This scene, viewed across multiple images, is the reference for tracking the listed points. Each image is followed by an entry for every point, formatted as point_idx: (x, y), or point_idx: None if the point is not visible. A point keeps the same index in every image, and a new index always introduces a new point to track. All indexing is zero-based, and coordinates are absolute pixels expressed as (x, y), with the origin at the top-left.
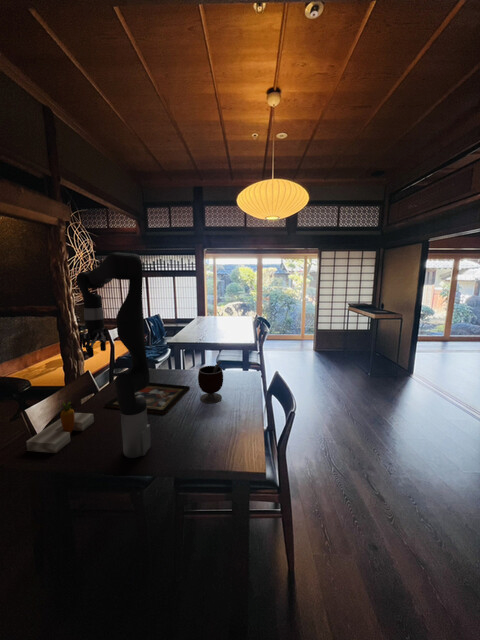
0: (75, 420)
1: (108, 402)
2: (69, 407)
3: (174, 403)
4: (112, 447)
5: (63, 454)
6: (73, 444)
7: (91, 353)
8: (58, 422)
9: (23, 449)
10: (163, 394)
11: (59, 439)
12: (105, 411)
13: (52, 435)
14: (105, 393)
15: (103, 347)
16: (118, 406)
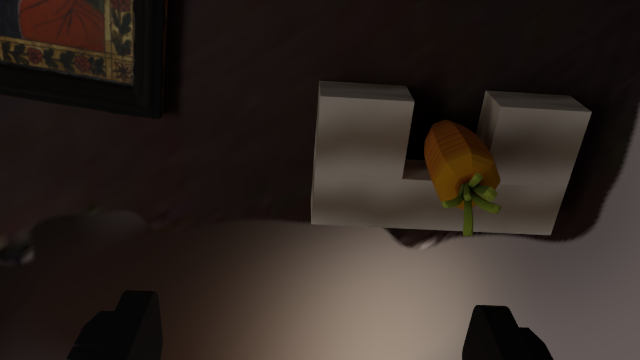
0: (392, 146)
1: (133, 106)
2: (480, 180)
3: None
4: None
5: (585, 56)
6: (515, 59)
7: (525, 351)
8: (408, 211)
9: None
10: None
11: (560, 112)
12: (208, 79)
13: (519, 165)
14: (9, 198)
15: (138, 358)
16: (163, 17)
